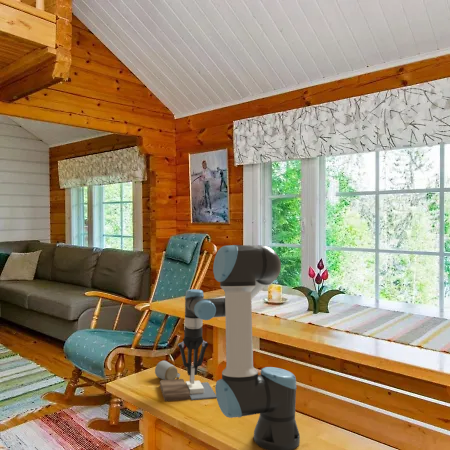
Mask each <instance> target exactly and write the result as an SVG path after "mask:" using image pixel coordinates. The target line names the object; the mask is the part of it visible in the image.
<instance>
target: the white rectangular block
mask: <svg viewBox="0 0 450 450" xmlns="http://www.w3.org/2000/svg"><path fill="white" fill-rule="evenodd" d="M201 383H202V382H201V381H200V380H194V384H191V383H190V380H187V381H185V384H186V386H187V388H188V390H189V392H190V394H199V393H204V387H203V386H202V384H201Z"/></svg>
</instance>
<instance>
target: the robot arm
mask: <svg viewBox="0 0 450 450" xmlns="http://www.w3.org/2000/svg"><path fill="white" fill-rule="evenodd" d="M213 260H214V261H213V269H212V271H213V276H214V279H215V280H216V281H217V282H218V283H220V284H219V287H220V288H221V289H222V290H223V292H224V297H217V298H213V297H212V298H205V297H204V291H203V290H201V289H196V288H191V289H187V290H186V291H185V297H184V300H185V301H184V305H185V306H184V326H185V327H184V331H183V334H184V336H183V339H182V342H179V343H177V347H178V348H179V350H180V355H181V360H182V364H183V366H184V367H185V368H187V373H186V374H187V375H188V376H189V381H190V383H191V384H194V381H195V376H197V374H198V367H202V365H203V360H204V358H205V353H206V350H207V348H208V346H209V343H208V342H207V341H205V340H204V338H203V324H204V323H203V321H210V320H212V319H213V318H222V317H223V318H225V351H226V353H225V357H226V367H225V368H224V369H223V370H222V371H221V378H219V379H218V380H216V382H215V391H214V392H215V394H216V398H215V399H216V402H217V404H218V407H219V410H220V411H221V412H222V414H223V415H224V416H225V417H227V418H231V419H232V418H243V417H246V416H253V415H259V417H258V419H257V421H256V425H255V427H254V431H253V441H254V443H255V444H256V445H257V446H259V447H261V448H262V449H265V450H295V449H296V448H298V446H299V445H300V441H301V440H300V439H301V437H300V432H299V431H300V430H299V428H298V425H297V421H296V403H297V402H296V398H297V396H296V395H297V388H298V387H297V379H296V376H295V374H294V373H293V372H291V371H289V370H286V369H283V368H280V367H273V366H265V367H263V368H261V371H260V374H259V372H258V370H257V369H256V368H255V367H254V350H253V349H254V348H253V316H252V314H253V312H252V310H253V309H252V307H253V306H252V300H253V299H254V298H255V296H257V295H258V293H260V292H261V290H263V289H264V287H266V286H269V285H271V284H273V283H274V282H275V281H276V280H277V278H278V277H279V275H280V273H281V270H282V262H281V259H280V256H279V255H278V254H277V252H276V251H275V250H274V249H273V248H271V247H269V246H267V245H266V246H265V245H259V244H258V245H249V244H248V245H247V244H245V245H242V244H233V245H223V246H221V247H220V248H219V249H218V250H217V251H216V254H215V257H214V259H213ZM185 347H186V348H187V357H186V354H185V349H184V348H185ZM200 347H201V349H200V353H199V348H200ZM192 354H193V355H192ZM198 354H199V356H198ZM192 356H193V360H192ZM192 361H193V363H192ZM192 364H193V365H192Z"/></svg>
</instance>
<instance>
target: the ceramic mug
mask: <svg viewBox="0 0 450 450" xmlns="http://www.w3.org/2000/svg"><path fill="white" fill-rule="evenodd" d="M154 373H155V376H156V377H157V378H158V379H161V380H172V379H180V376H181V373H179V372H178V369H177V367H176V366H175V365H173V364H172V363H170V362H168V361H167V360H161V361H159V362H158V363H157V364H156V365H155V369H154Z"/></svg>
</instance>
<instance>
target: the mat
mask: <svg viewBox="0 0 450 450" xmlns="http://www.w3.org/2000/svg"><path fill="white" fill-rule="evenodd" d="M201 384H202V386H203V387H204V393H199V394H190V400H191V401H196V400H197V401H200V400H210V399H217V398H216V392H215V391H214V390H213V388H212V386H211V385H210V383H209V381H208V382H207V381H205V382H204V381H203V382H201Z"/></svg>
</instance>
